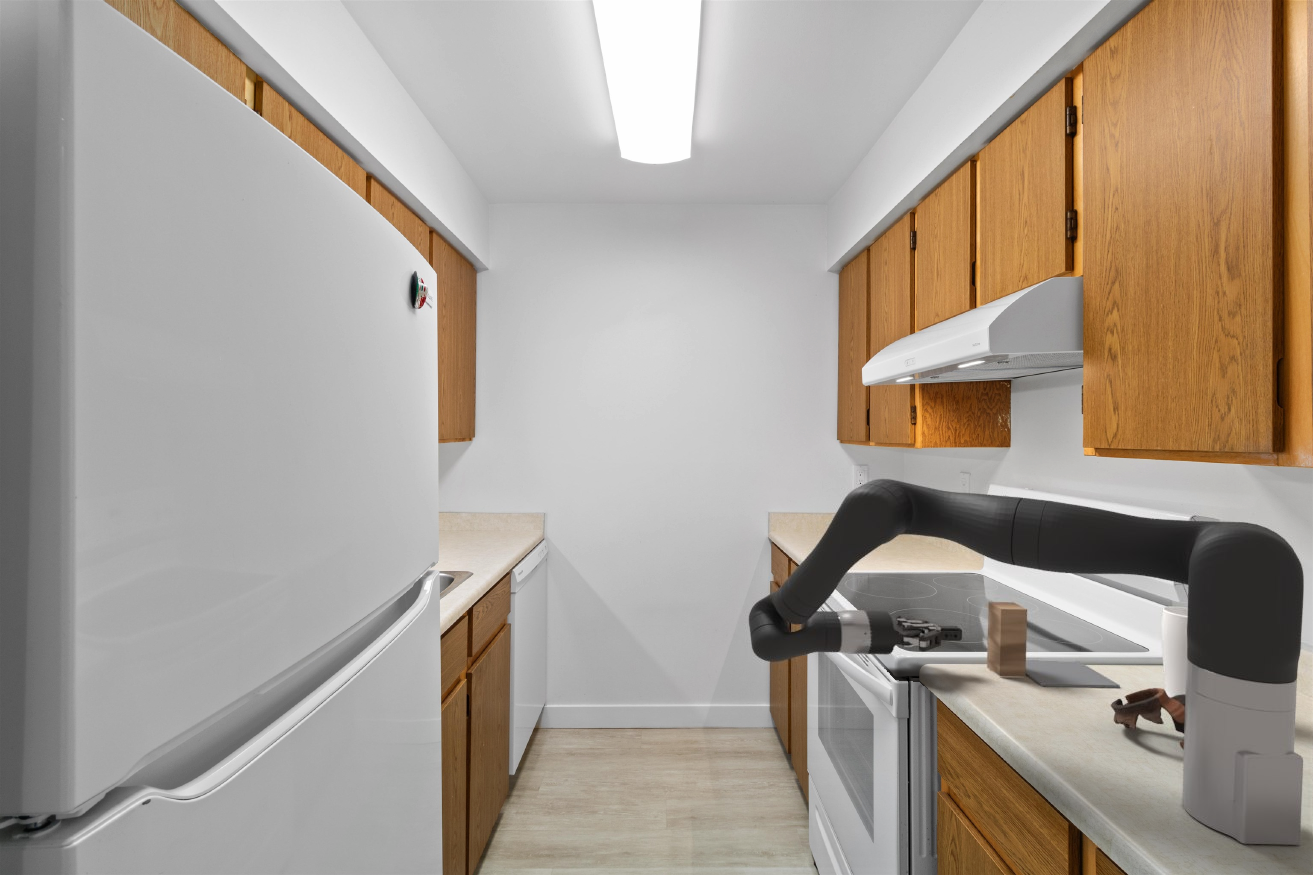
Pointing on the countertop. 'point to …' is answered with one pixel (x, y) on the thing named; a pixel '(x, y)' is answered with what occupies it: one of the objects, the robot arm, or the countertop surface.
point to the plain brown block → (1007, 639)
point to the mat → (1066, 674)
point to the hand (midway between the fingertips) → (959, 633)
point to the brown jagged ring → (1150, 708)
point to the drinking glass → (1174, 649)
